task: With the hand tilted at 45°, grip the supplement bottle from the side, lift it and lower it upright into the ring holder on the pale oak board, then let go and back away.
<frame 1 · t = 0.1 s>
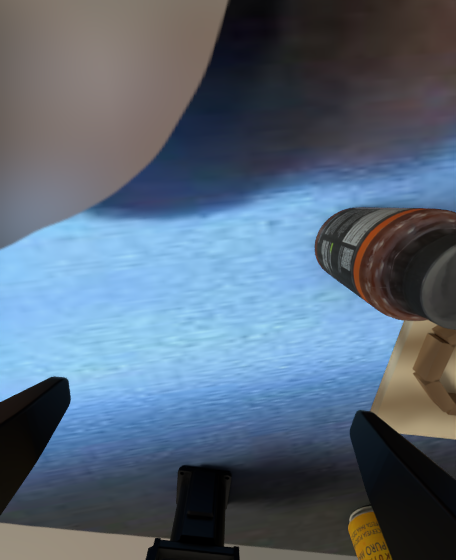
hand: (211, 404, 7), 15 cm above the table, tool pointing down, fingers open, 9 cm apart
supplement bottle: (346, 242, 20), on the table
beer can: (368, 516, 31), on the table
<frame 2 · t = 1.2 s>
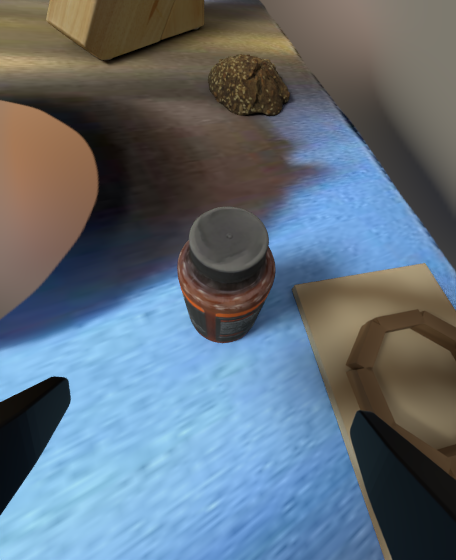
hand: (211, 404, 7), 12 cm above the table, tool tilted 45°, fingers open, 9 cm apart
supplement bottle: (222, 312, 22), on the table
knife block: (156, 31, 47), on the table
holder board: (408, 384, 20), on the table
bread roll: (249, 97, 38), on the table
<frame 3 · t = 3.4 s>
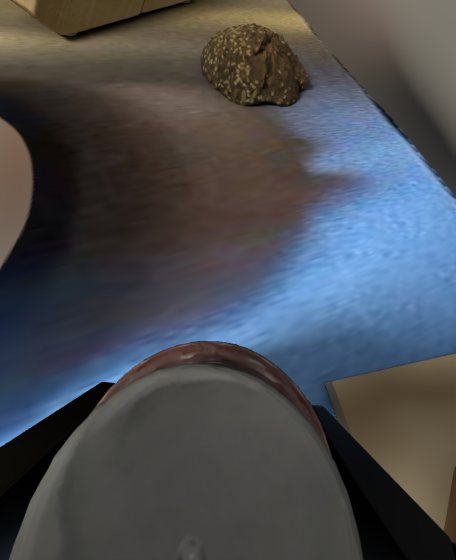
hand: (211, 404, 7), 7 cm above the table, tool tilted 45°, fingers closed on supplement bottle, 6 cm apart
supplement bottle: (210, 429, 13), on the table, touching gripper
knife block: (138, 4, 38), on the table
bread roll: (254, 83, 29), on the table
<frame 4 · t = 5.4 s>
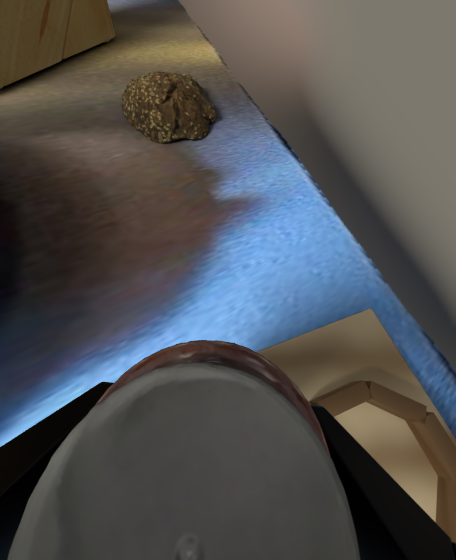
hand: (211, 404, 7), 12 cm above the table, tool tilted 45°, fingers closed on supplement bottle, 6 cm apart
supplement bottle: (209, 428, 13), point 5 cm above the table, touching gripper
knife block: (60, 48, 40), on the table
holder board: (364, 469, 17), on the table
bread roll: (173, 119, 34), on the table
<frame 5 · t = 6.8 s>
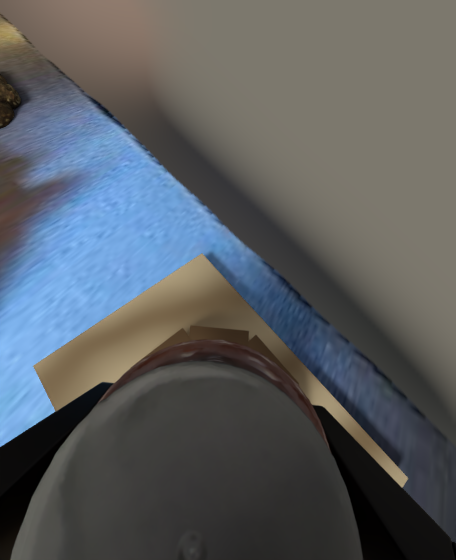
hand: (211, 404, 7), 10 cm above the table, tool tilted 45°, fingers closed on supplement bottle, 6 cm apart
supplement bottle: (210, 428, 13), point 3 cm above the table, touching gripper
holder board: (211, 417, 16), on the table
when the fingers open (8 cm above the table, at t = 7.5 s): supplement bottle stays where it is, resting on holder board.
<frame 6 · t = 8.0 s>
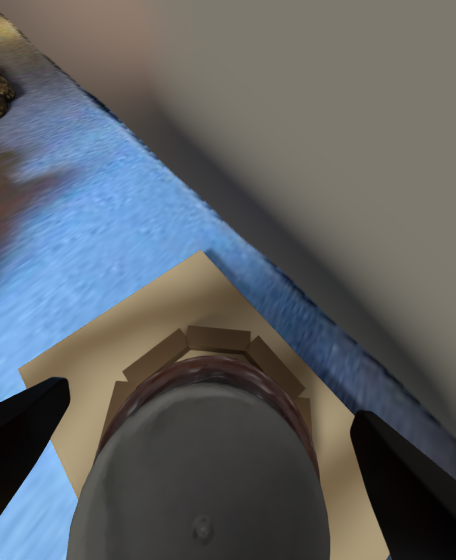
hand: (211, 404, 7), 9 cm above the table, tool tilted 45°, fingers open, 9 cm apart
supplement bottle: (211, 431, 14), point 1 cm above the table, touching holder board
holder board: (210, 425, 15), on the table
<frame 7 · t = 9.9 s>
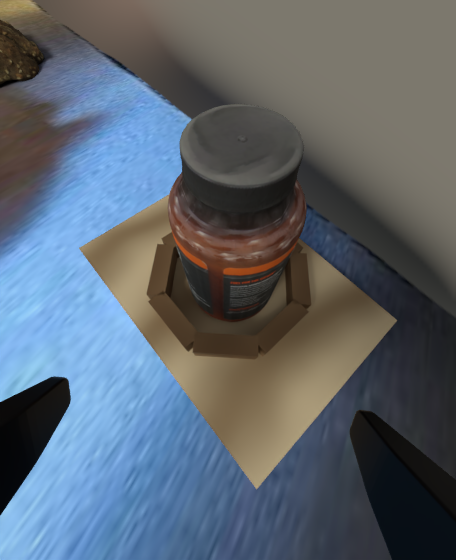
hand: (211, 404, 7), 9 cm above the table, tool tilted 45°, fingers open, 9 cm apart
supplement bottle: (231, 286, 18), point 1 cm above the table, touching holder board
holder board: (229, 287, 19), on the table
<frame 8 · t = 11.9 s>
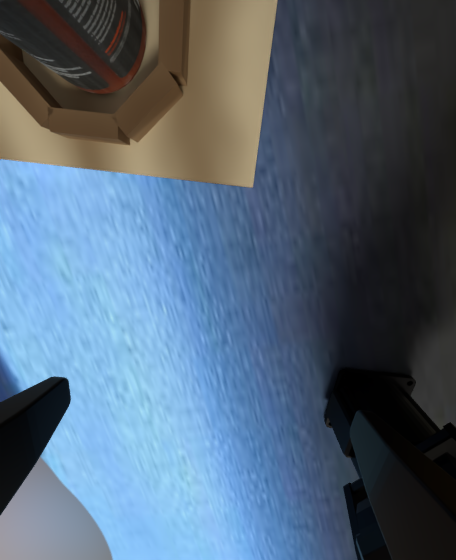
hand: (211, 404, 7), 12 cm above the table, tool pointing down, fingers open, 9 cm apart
supplement bottle: (99, 37, 14), point 1 cm above the table, touching holder board
holder board: (102, 44, 14), on the table
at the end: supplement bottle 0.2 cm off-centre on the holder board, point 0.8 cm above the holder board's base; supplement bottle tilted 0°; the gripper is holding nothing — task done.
